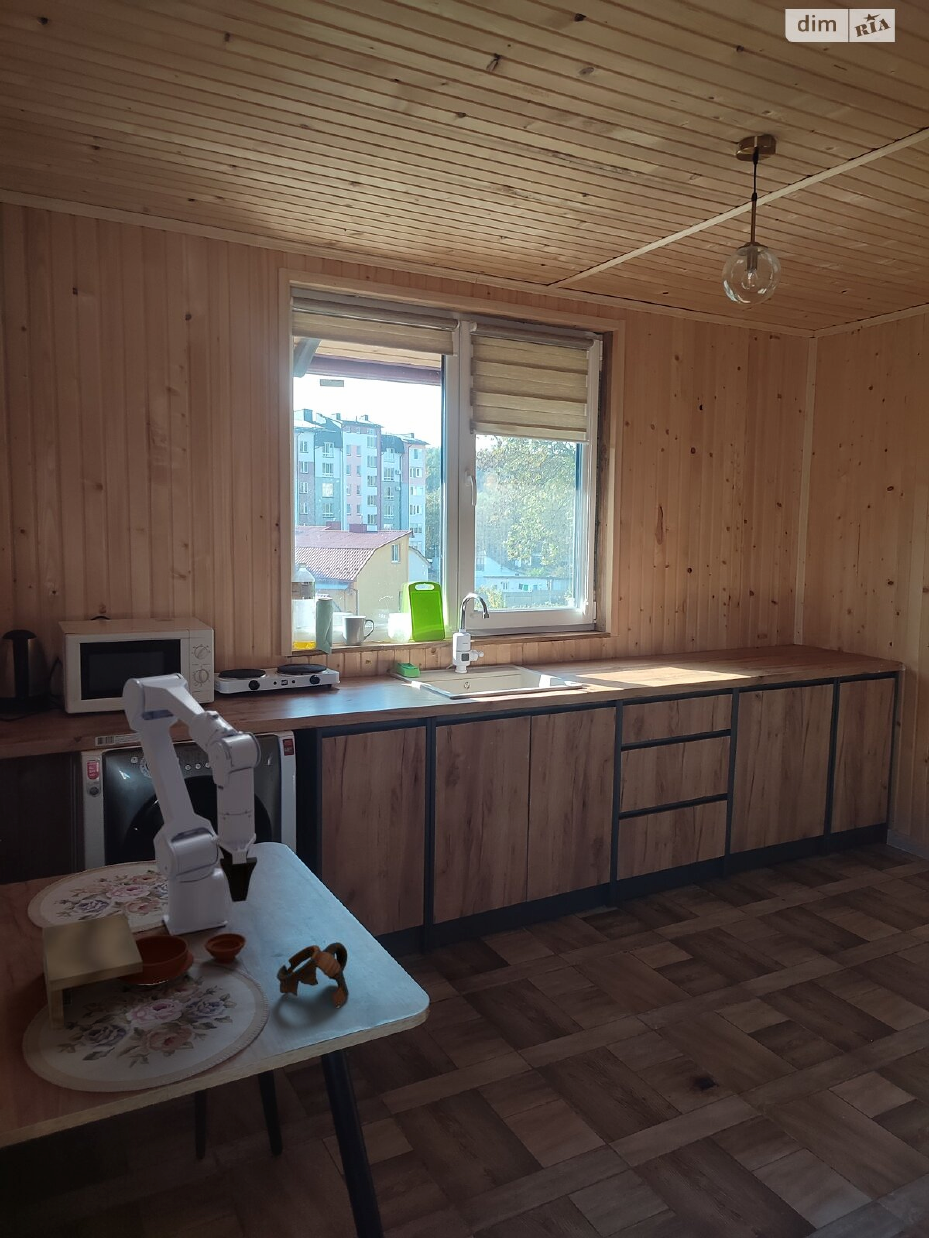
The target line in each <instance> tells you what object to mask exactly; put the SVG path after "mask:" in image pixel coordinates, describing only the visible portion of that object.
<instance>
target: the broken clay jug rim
mask: <svg viewBox="0 0 929 1238" xmlns="http://www.w3.org/2000/svg"><path fill="white" fill-rule="evenodd" d="M287 960H288V963H289V965H290V966H289V967H288V968H287V966H286V964H284V965H282V966H281V967H280V968H279V969H278V971H277V974H276V978H277V980H278V981H279V992H280V993H281V994H289V993H290V994H292V995H293V996H295V997H298V988H299V983H301V984H303V985H307V986H317V985H319V981H318V979H317V969H319V970H320V971H321V972H322V973H323V975H325V976H326V977H328V979H330V980H334V981H335V982H336V985H337V987H336V989H335V990H334V991H333V993H332V994H331V995H330V998H331V1001H333V1003H334V1006H335V1008H336V1007H338V1006H340V1007H341V1006H342V1005H344V1003H345V1001H346V1000H347V998H348V997H349V992H350V991H349V989H348V985H347V983H346V978H345V975H344V971H345V968H346V966H347V963H348V950H347V948H346V947H345V945H344V944H342V943H341V942H336V941H335V942H333V943H330V944H329V945H328V946H326V947H325V948H324V949H323V950H321V948H320V947H319V945H310V946H307V947H304V948H303V949H301V950H299V951H298V952H296V953H295V954H293V956H291V957H290V958H289V959H287ZM305 961H306V962H305ZM303 962H305V963H304V964H303V965H302V966H300V965H301V964H302V963H303ZM299 966H300V967H299ZM297 967H299V968H297ZM296 968H297V969H296ZM295 969H296V970H295Z"/></svg>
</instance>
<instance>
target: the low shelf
mask: <svg viewBox="0 0 929 1238" xmlns="http://www.w3.org/2000/svg"><path fill="white" fill-rule="evenodd" d="M41 932H42V933H41V934H42V956H43V975H44V980H45V981H44V982H45V988H46V989H45V990H46V999H47V1005H48V1013H49V1019H50V1027H51V1030H57V1029H61V1028H63V1027H65V1026H64V1008H63V1007H65V1006H70V1005H72V1004H73V1001H72V1000H73V999H72V987H77V986H83V985H86V984H91V983H96V982H100V981H105V980H109V979H114V978H116V977H120V976H124V975H129V974H133V973H138V972H143V967H142V959H141V956H140V954H139V951H138V948H137V945H136V943H135V940H136V939H135V937H134V934H133V932H132V929H131V926H130V924H129V921H128V918H127V916H126V913H125V912H121V913H117V914H112V915H106V916H102V917H96V918H91V919H85V920H80V921H75V922H69V923H63V924H58V925H54V926H47V927H42V928H41Z"/></svg>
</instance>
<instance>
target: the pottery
mask: <svg viewBox="0 0 929 1238" xmlns="http://www.w3.org/2000/svg"><path fill="white" fill-rule="evenodd" d="M134 940H135V943H136V945H137V948H138V951H139V954H140V956H141V959H142V967H143V972H138V973H133V974H129V975H124V976H120V977H115V978H116V979H117V980H119V981H120V982H122V983H126V984H131V985H138V984H153V983H159V982H163V981H167V980H169V981H171V980H172V979H175V978H177V977H180V976H181V975H183V974H184V973H187V971H188V970H190V968H192V966H193V964H194V962H195V958H194V955H193V953H192V952H191V951H189V944H188V942H187V941H186V940H185V939H184V938H183V937H180V936H178V935H173V936H172V935H170V934H157V935H155V934H154V935H150V936H145V937H140V938H137V939H134ZM246 943H247V939H246V937H245V936H244V935H242V934H239V933H234V932H233V933H232V932H231V933H229V932H227V933H221V934H220V933H219V934H216V935H213V936H211V937H209V938H207V940H206V941H205V942H204V943H203V947H204V948H205V951H206V952H207V953H209V954H210V956H212V958H214V959H215V962H216V963H217V962H218V963H217V964H220V965H225V964H231V963H233V962H234V961H235V960H236V957H237V955H239V953H240V952H241V950H242V949H243V948H244V947H245V946H246V945H245V944H246ZM167 982H168V981H167Z"/></svg>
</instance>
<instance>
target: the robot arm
mask: <svg viewBox="0 0 929 1238" xmlns="http://www.w3.org/2000/svg"><path fill="white" fill-rule="evenodd" d="M121 702H122V706H123V708H124V709H123V710H124V712H125V715H126V716H125V717H126V719H127V722H128V724H129V728H130V730H132V731H134V732H137V735H138V739H139V742H140V745H141V748H142V753H143V755H144V759H145V762H146V766H147V769H148V773H149V776H150V779H151V782H152V785H153V788H154V791H155V792H154V793H155V795H156V799H157V802H158V805H159V808H160V812H161V814H162V818H163V822H164V824H163V825H162V826H161V828H160V829H159V830H158V832H157V833H156V835H155V837H154V838H153V846H154V851H155V852H154V853H155V855H154V856H155V858H154V859H155V863H156V868H157V870H158V872H159V874H160V875H162V876H163V877H164V878H165V879H166V880H167V903H168V904H167V906H168V907H167V908H168V909H167V910H168V914H164V915H163V916H162V919H163V922H164V924H165V927H166V928H167V930H168V932H169V935H172V936H178V935H183V934H188V933H192V932H197V931H198V932H199V931H202V930H208V929H213V928H217V927H222V926H226V925H228V921H227V899H226V898H227V896H226V892H227V891H226V890H227V889H226V880H225V878H226V879H227V883H228V888H229V893H230V895H229V896H230V898H231V901H232V903H238V902H246V900H247V897H248V893H249V887H250V881H251V879H252V874H253V871H254V869H255V868H256V866H257V863H258V858H257V856H252V857H251V856H250V857H248V854H249V850H250V848H251V847H252V845H253V844H254V843H255V842H256V839H257V834H256V833H255V790H254V788H255V786H254V785H255V784H254V779H255V778H254V768H256V767H258V766H259V764H260V761H261V759H262V758H261V755H262V753H261V746H260V743H259V741H258V739H257V738H256V736H255V735H254V734H253V733H252V732H251V731H246V732H243V731H237V729H235V728H234V727H233V726H232V725H231V724H229V723H228V722H227V720H225V719H224V718H223V717H222V716H221V715H220V714H219V712H218V711H216V710H205V709H203V707H202V706H201V705H200V703H198V701H197V700H195V698H194V697H193V696H192V695H191V693H190V686H189V683H188V680H187V679H186V678H184V676H183V675H182V674H180V673H179V672H178V673H177V672H174V673H171V674H165V675H157V676H155V675H154V676H149V677H141V678H129V679H127V681H125V684H124V686H123V690H122V698H121ZM179 720H180V721H181V722H183V723H184V724H185V725H187V726H188V735H189V737H190V739H192V740H193V741H194V742H195V743H196V745H198V746H199V748H201V749H202V750H203V751H204V752H205V753H206V754H207V756H208V764H209V766H210V768H211V771H212V780H213V783H214V784H216V804H217V805H216V806H217V809H216V810H217V813H216V814H217V833H216V832H215V831H214V828H213V826H212V823H211V821H210V820H209V819H207V818H204V817H203V816H201V815H198V814H196V813H195V811H194V808H193V804H192V802H191V798H190V795H189V792H188V789H187V786H186V783H185V779H184V775H183V773H182V769H181V765H180V763H179V760H178V756H177V753H176V751H175V750H176V749H175V747H174V743H173V740H172V737H171V734H170V728H171V727H172V726H173V725H175V724H176V723H177V722H178V721H179ZM222 856H223V858H221V857H222ZM217 864H220V867H221V868H219V867H218V868H216V867H215V866H216V865H217Z"/></svg>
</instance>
